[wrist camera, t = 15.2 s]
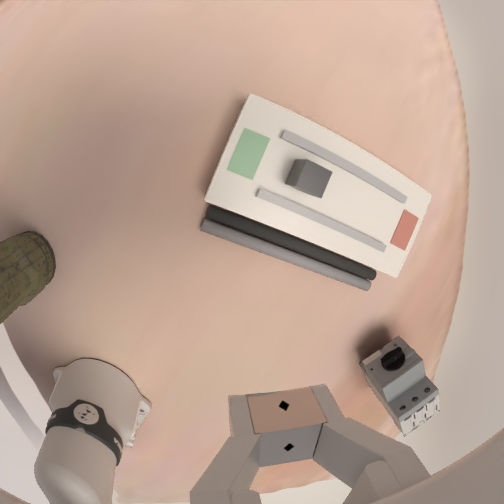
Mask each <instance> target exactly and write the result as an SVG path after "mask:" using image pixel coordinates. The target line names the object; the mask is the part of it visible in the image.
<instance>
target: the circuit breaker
mask: <svg viewBox="0 0 504 504" xmlns="http://www.w3.org/2000/svg"><path fill="white" fill-rule="evenodd" d="M359 364H360V366H361V368H362V371H363V373H364V375H365V377H366V380H367V382H368V384H369V387H371V388H372V391H373V392H374V394H375V395H376V397H377V398H378V399H379V401H381V403H382V404H383V406H384V407H385V409H386V410H387V412H388V413H389V414H390V416H391V417H392V419H393V421H394V423H395V424H396V426H397V427H398V429H399V430H400V432H402V433H403V434H404V437H405V436H407V435H408V434H410V433H411V432H413V431H414V430H416V429H417V428H418V427H420V426H421V425H420V423H421V422H422V421H424V423H425V422H427V421H428V420H429V419H431V418H432V417H433V416H435V415H436V414H437V413H439V412H440V410H439V409H440V405H439V392H438V388H437V387H436V386H435V385H434V384H433V383H432V382H431V381H430V380H429V379H428V377H427V376H426V374H425V368H424V363H423V359H422V358H421V357H420V356H419V355H418V354H417V353H416V352H415V350H414V349H412V348H411V347H410V346H409V345H408V344H407V343H406V342H405V341H404V340H403V339H402V338H401V337H400V336H398V337H396V338H395V339H393V340H392V341H391V342H389V343H388V344H386V345H385V346H383V347H382V349H381V350H380V349H379V350H378V351H376V352H375V353H373V354H372V355H370V356H369V357H367V358H365V359H364V360H362V362H361V363H359Z"/></svg>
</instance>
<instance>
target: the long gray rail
mask: <svg viewBox="0 0 504 504" xmlns="http://www.w3.org/2000/svg"><path fill="white" fill-rule="evenodd" d="M206 217H207V218H210V219H212V220H215V221H218V222H220V223H223V224H226V225H229V226H231V227H234V228H237V229H239V230H242V231H245V232H247V233H250V234H253V235H255V236H258V237H261V238H263V239H266V240H269V241H271V242H274V243H276V244H279V245H282V246H284V247H287V248H290V249H292V250H295V251H297V252H300V253H303V254H305V255H308V256H310V257H313V258H316V259H318V260H321V261H323V262H326V263H329V264H331V265H334V266H336V267H339V268H341V269H344V270H346V271H349V272H352V273H354V274H357V275H359V276H362V277H364V278H367V279H369V280H374V279H375V277H376V271H375V270H373V269H370V268H368V267H366V266H363V265H361V264H359V263H356V262H354V261H351V260H349V259H347V258H344V257H342V256H339V255H337V254H334V253H332V252H330V251H327V250H325V249H322V248H320V247H317V246H315V245H312V244H310V243H307V242H305V241H302V240H300V239H297V238H295V237H292V236H290V235H287V234H285V233H282V232H280V231H277V230H275V229H272V228H270V227H267V226H264V225H262V224H259V223H257V222H254V221H252V220H249V219H246V218H244V217H241V216H238V215H236V214H233V213H231V212H228V211H225V210H223V209H220V208H217V207H215V206H212V205H210V206H209V209H208V211H207V214H206ZM201 231H203V232H206V233H209V234H212V235H214V236H217V237H220V238H223V239H226V240H228V241H231V242H234V243H237V244H239V245H242V246H245V247H248V248H250V249H253V250H256V251H259V252H261V253H264V254H267V255H270V256H272V257H275V258H278V259H281V260H283V261H286V262H289V263H292V264H294V265H297V266H300V267H303V268H305V269H308V270H311V271H314V272H316V273H319V274H322V275H324V276H327V277H330V278H333V279H335V280H338V281H341V282H344V283H346V284H349V285H352V286H355V287H357V288H360V289H363V290H365V291H368V290H369V289H370V287H371V282H370V281H369V280H366V279H364V278H361V277H358V276H356V275H353V274H351V273H348V272H346V271H343V270H341V269H338V268H335V267H333V266H330V265H328V264H325V263H322V262H320V261H317V260H315V259H312V258H309V257H307V256H304V255H302V254H299V253H296V252H294V251H291V250H288V249H286V248H283V247H281V246H278V245H275V244H273V243H270V242H267V241H265V240H262V239H259V238H257V237H254V236H251V235H249V234H246V233H243V232H241V231H238V230H235V229H233V228H230V227H227V226H224V225H222V224H219V223H216V222H214V221H211V220H208V219H204V222H203V224H202V227H201Z"/></svg>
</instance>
